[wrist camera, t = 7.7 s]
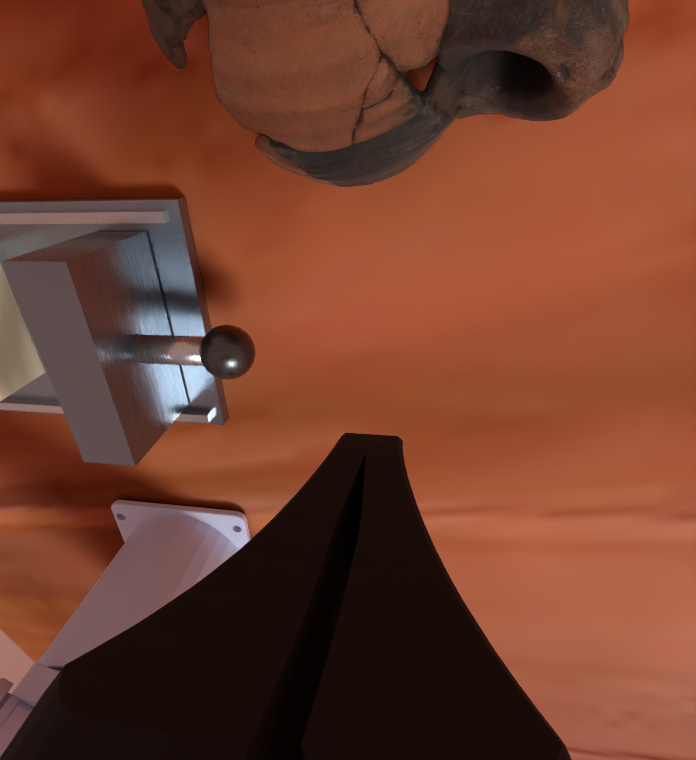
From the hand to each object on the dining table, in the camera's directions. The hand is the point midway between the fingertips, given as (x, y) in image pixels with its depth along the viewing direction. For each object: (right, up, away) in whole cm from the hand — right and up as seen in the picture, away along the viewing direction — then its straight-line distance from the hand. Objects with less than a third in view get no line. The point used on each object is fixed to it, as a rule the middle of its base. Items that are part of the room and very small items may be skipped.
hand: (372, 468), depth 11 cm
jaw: (-7, +4, +8) cm, 12 cm away
